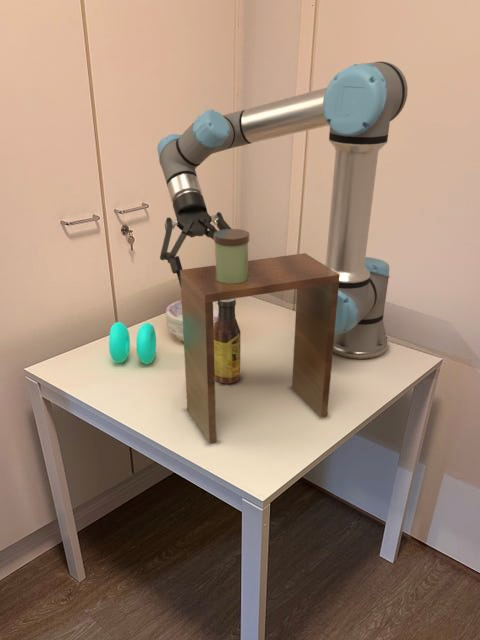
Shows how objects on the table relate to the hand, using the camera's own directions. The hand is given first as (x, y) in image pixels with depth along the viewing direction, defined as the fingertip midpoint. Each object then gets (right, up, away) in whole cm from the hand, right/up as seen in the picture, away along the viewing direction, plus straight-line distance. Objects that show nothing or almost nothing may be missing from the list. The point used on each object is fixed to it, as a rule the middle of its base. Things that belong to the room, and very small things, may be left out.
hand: (211, 281), depth 147 cm
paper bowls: (-5, -10, +23) cm, 26 cm away
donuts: (-20, -18, +11) cm, 29 cm away
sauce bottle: (+4, -22, +4) cm, 23 cm away
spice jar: (+5, -6, -29) cm, 30 cm away
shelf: (+10, -31, -10) cm, 34 cm away
